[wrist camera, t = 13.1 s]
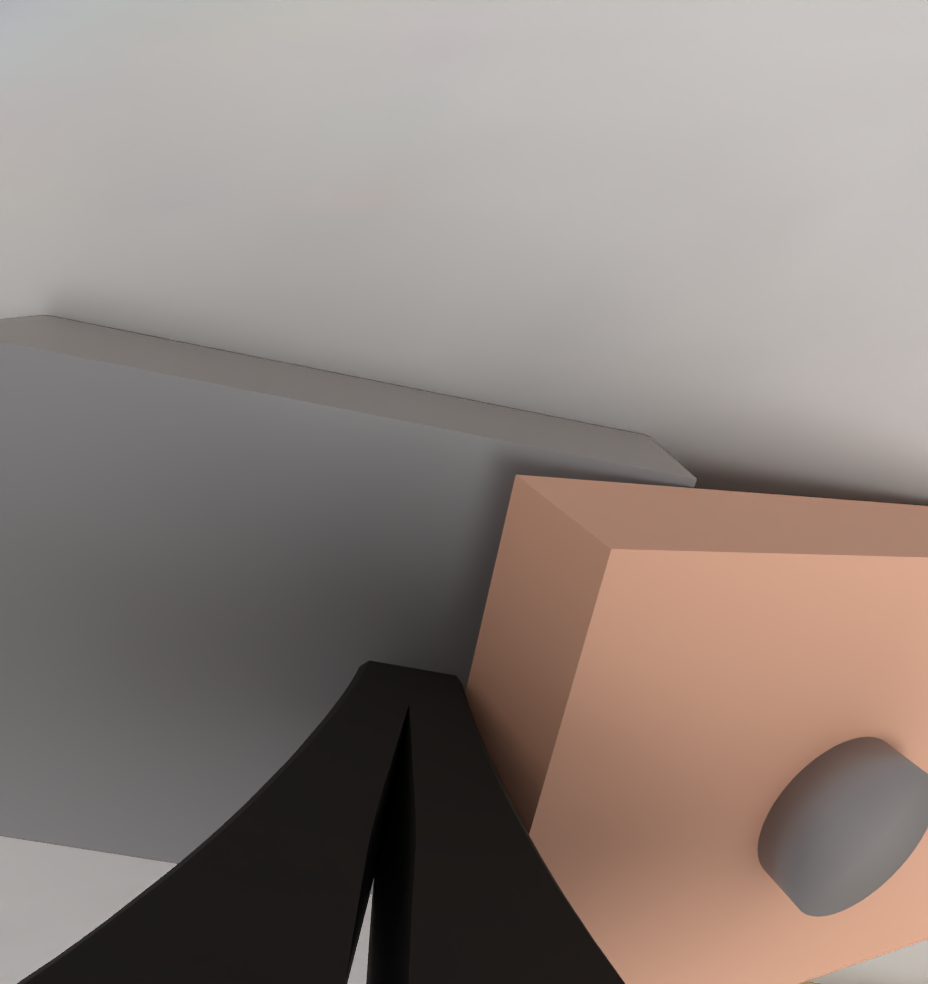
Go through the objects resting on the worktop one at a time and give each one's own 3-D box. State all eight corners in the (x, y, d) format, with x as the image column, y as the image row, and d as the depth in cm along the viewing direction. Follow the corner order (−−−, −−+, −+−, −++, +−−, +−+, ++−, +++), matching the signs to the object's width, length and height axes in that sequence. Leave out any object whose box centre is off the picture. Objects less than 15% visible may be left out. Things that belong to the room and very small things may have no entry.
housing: (538, 809, 14) (553, 922, 11) (42, 727, 13) (-53, 828, 11) (648, 435, 11) (696, 479, 9) (44, 314, 11) (-77, 326, 8)
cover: (841, 847, 14) (967, 968, 12) (405, 950, 10) (470, 1161, 8) (1000, 511, 12) (1197, 582, 9) (515, 474, 8) (650, 579, 5)
